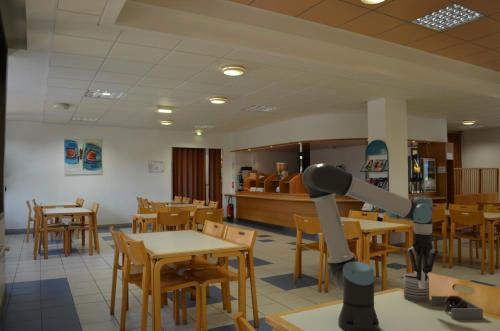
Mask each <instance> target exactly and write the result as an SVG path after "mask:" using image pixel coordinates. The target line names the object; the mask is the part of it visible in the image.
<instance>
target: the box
mask: <svg viewBox="0 0 500 331" xmlns="http://www.w3.org/2000/svg"><path fill="white" fill-rule="evenodd" d="M449 296H450V295H432V296H431V306H434V307H435V306H438V307H440V306H442V307H443V305H445V303H444V301H445V300H446V298H448V297H449ZM461 298H462V299H463V300H464V301H465V302H466V303H467V307H468V308H451V312H450V314H451V316H450V317H451V320H484V309H483V307H482V308H481V307H479V306H477V305H476V304H475V303H472V302H470V301H469V300H467V299H465V298H463V297H461ZM456 301H458V300H456ZM447 304H448V305H450V303H449V301H448V302H447Z"/></svg>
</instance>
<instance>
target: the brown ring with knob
mask: <svg viewBox="0 0 500 331" xmlns="http://www.w3.org/2000/svg"><path fill="white" fill-rule="evenodd" d="M448 296H449V297H448V298H446V300H445V301H444V303H445V306H444V308H443V309H444V312H445V314H447V313H451V308H468V307H467V303H466V302H465V301H464V300H463V299H464V298H463V297H462V296H459V295H448ZM462 298H463V299H462ZM456 300H458V301H456ZM448 301H449V303H450V305H451V306H450V305H448V304H447V302H448Z"/></svg>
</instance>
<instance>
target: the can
mask: <svg viewBox="0 0 500 331" xmlns="http://www.w3.org/2000/svg"><path fill="white" fill-rule="evenodd" d="M403 298H404V300H406V301H409V302H413V303H420V304H421V303H428V302H430V274H429V273H428V274H427V281H425V289H421V288H419V280H417V272H407V273H405V272H404V273H403Z"/></svg>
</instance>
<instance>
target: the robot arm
mask: <svg viewBox="0 0 500 331" xmlns="http://www.w3.org/2000/svg"><path fill="white" fill-rule="evenodd" d="M301 179H302V183H303V186H304V187H305V188H306V190H307V192H308V196H309V199H310V200H311V201H313V202H314V205H315V207H316V208H315V209H316V212H317V215H318V219H319V223H320V225H321V229H322V233H323V237H324V240H325V244H326V247H327V248H326V249H327V251H328V254H329V256H328V258H327V265H328V268H327V273H328V276H329V279H330V281H331V282H332V283H333V284H334V285H335V287H338V288H339V289H340V290H342V301H343V302H342V307H341V310H340V313H339V316H338V321H337V322H338V323H337V324H338V327H340V328H341V329H343V330H345V331H379V329H380V322H379V319H378V318H379V317H378V315H377V312H376V310H375V278H376V277H375V272H374V269H373V268H374V267H373V266H371V265H369V264H367V263H363V262H362V261H361V262H360V261H357V259H356V256H355V253H353V252H352V251H350V248H349V243H348V240H347V237H346V234H345V230H344V226H343V223H342V218H341V215H340V212H339V207H338V204H337V201H336V198H335V196H336V195H338V196H341V197H345V196H348V197H350V198H352V199H356V200H357V201H360V202H363V203H365V204H368V205H371V206H373V207H376V208H379V209H380V210H381V209H382V210H383V211H386V215H387V217H388V218H390V219H391V220H393V219H394V220H404V221H409V222H413V236H412V241H413V243H412V245H411V247H408V248H407V249H406V251H407V253H408V254H409V260H410V265H411V269H412V271H413V272H415V273H417V280H419V288H421V289H425V281H427V274H428V275H429V273H431V272H432V271H433V268H434V264H435V260H436V257H437V254H438V253H439V250H437V249H435V248H434V246H433V234H432V233H433V215H434V214H433V213H434V212H433V210H434V206H433V205H434V204H433V200H432V198H430V197H414V198H413V200H411V199H409V198H406V197H405V196H402V195H399V194H397V193H395V192H392V191H389V190H386V189H385V188H384V189H383V188H382V187H379V186H376V185H374V184H371V183H369V182H366V181H364V180H362V179H358V178H357V177H354V174H353V173H351V172H348V171H347V170H344V169H343V168H339V167H338V166H335V165H334V164H330V163H326V162H325V163H324V162H323V163H314V164H312V165H310V166H308V167H306V168H305V170H304V172H303V173H302V178H301ZM414 252H415V254H414Z"/></svg>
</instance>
